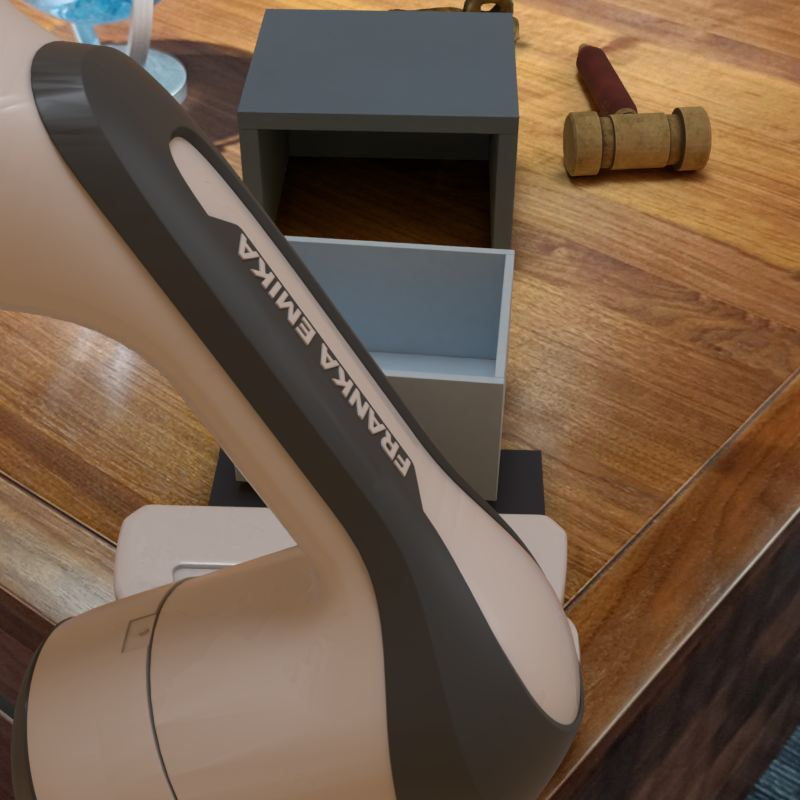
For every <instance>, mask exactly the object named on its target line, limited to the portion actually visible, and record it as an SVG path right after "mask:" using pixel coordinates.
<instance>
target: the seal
mask: <svg viewBox="0 0 800 800" xmlns="http://www.w3.org/2000/svg"><path fill="white" fill-rule="evenodd" d="M487 4H488V5H489V4H494V5H493V6H492V7H491V8H490V9H489V10H482V6H483V5H487ZM514 7H515V6H514V1H513V0H465V1H464V3H463V6H462V8H460V7H455V6H437V7H431V8H419V9H403V8H402V9H401V8H394V9H393V8H392V9H388V10H386V11H432V12H491V13H513V14H514V12H515V11H514ZM513 27H514V42H516V40H517V39H518V38H519V35H520V22H519V19H518V18H517V17H515V16H513Z"/></svg>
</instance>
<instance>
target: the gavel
mask: <svg viewBox="0 0 800 800" xmlns="http://www.w3.org/2000/svg"><path fill="white" fill-rule="evenodd" d="M575 66H576V70H577V71H578V74H579V75H580V77H581V79H582V80H583V83H584V85H585V86H586V88H587V90H588V92H589V94H590V95H591V97H592V100H593V101H594V103H595V105H596V107H597V108H598V111H599V113H600V114H601V117H599V114H598V112H597V111H596V110H592V111H591V110H588V111H587V110H586V111H570V112H568V113H567V115H566V117H565V119H564V123H563V131H562V154H563V161H564V165H565V168H566V171H567V173H568V174H569V176H571V177H578V176H579V177H581V176H596V175H598V173H599V171H600V169H608V170H609V171H614V170H615V171H616V170H617V171H618V170H637V169H657V168H665V167H666V166H671V165H672V168H673V169H674V170H675V171H676V172H683V171H685V172H686V171H702V170H704V169H705V167H706V166H707V164H708V162H709V160H710V156H711V151H712V137H713V136H712V126H711V125H712V124H711V120H710V117H709V114H708V113H707V110H706V109H705V108H704V107H703V106H701V105H699V106H678V107H675V108H673V110H672V112H671V113H669V114H666V113H665V112H662V111H661V112H645V113H643V112H641V113H639V112H638V107H637V105H636V103H635V102H634V100H633V99H632V97H631V94H630V93H629V92H628V90H627V88H626V87H625V85H624V83H623V81H622V79H621V78H620V77H619V75H618V73H617V71H616V70H615V68H614V66H613V65H612V63H611V61H610V60H609V58H608V57H607V54H606V52H604V50H603V49H601V48H600V47H598V46H593V45H592V44H588V43H584V42H583V43H581V44H580V45H579V46H578V50H577V57H576V60H575Z"/></svg>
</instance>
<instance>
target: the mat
mask: <svg viewBox="0 0 800 800" xmlns="http://www.w3.org/2000/svg"><path fill="white" fill-rule="evenodd" d="M543 472H544V471H543V459H542V450H539V449H504V448H501V451H500V463H499V476H498V488H497V500H496V501H490V500H485V501H486V502H487V503H488V504H489V505H490V506H491V507H492V508H493V509H494V510H495V511H496V512H497V513H498V514H525V515H545V516H546V505H545V490H544V489H545V488H544V474H543ZM207 504H208V505H207V506H221V507H259V508H268V507H267V505H266V504H265V503H264V502H263V500H262V499H261V498H260V497H259V495H258V494H257V493H256V491H255V490H254V489H253V488H252V486H251V485H250V484H249V483H248V482H245V481H236V473H235V465H234V464H233V462H232V461H231V460H230V458H229V457H228V456H227V455H226V453H225V452H224V451H223V450H222V448H221V447H219V452H218V457H217V462H216V467H215V472H214V476H213V481H212V486H211V491H210V495H209V499H208V503H207Z"/></svg>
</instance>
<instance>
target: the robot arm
mask: <svg viewBox="0 0 800 800" xmlns="http://www.w3.org/2000/svg"><path fill="white" fill-rule="evenodd" d="M284 236H285V235H284V234H283V233H282V232H281V230H280V228H278V226H277V225H276V222H275V223H274V222H273V221H272V219H271V218H270V217H269V215H268V214H267V213H266V211H265V210H264V209H263V207H262V206H261V205H260V203H259V202H258V201H257V199H256V198H255V197H254V195H253V194H252V193H251V191H250V190H249V189H248V187H247V186H246V185H245V183H244V182H243V179H242V178H241V177H240V176H239V174H238V173H237V172H236V170H235V169H234V167H233V166H232V165H231V164H230V163H229V161H228V160H227V159H226V158H225V156H224V155H223V153H222V152H221V150H219V149H218V147H217V146H216V145H215V143H214V142H213V141H212V140H211V139H210V137H209V136H208V134H206V132H205V131H204V130H203V128H201V126H200V125H199V124H198V123H197V121H195V119H193V117H192V116H191V115H190V114H189V113H188V111H187V110H186V109H185V108H184V107H183V106H182V104H180V102H178V101H177V99H176V98H175V97H174V96H173V95H172V94H171V93H170V91H169V90H168V89H166V87H165V86H164V85H162V84H161V82H159V81H158V80H157V79H156V78H155V77H154V76H153V75H152V74H151V73H150V72H149V71H148V70H146V69H145V67H143V66H142V65H141V64H140V63H138V61H136V60H135V59H134V58H132V57H131V56H130V55H128V54H126V53H125V52H123V51H121V50H119V49H117V48H115V47H112V46H107V45H101V44H93V43H84V42H77V41H68V40H65V39H62V38H61V37H59V36H58V35H56V34H54V33H53V32H51V31H50V30H48V29H47V28H46V27H44V26H42V25H41V24H39V23H38V22H36V21H35V20H34V19H33V18H31V17H30V16H28V15H27V14H26V13H25V12H23V11H22V10H21V9H19V8H18V7H17V6H16V5H15V4H14V3H12V1H10V0H0V311H7V312H15V313H16V312H17V313H23V314H28V315H33V316H40V317H46V318H50V319H55V320H59V321H63V322H67V323H71V324H74V325H77V326H80V327H82V328H85V329H88V330H92V331H95V332H97V333H98V334H101V335H102V336H105V337H107V338H109V339H112V340H113V341H115V342H117V343H119V344H121V345H123V346H124V347H126V348H127V349H128V350H130V351H132V352H134V353H135V354H136V355H138V356H140V357H141V358H142V359H143V360H144V361H146V363H148V364H149V365H150V366H152V367H153V368H155V369H156V370H157V371H158V372H159V374H161V375H162V376H163V377H164V379H166V381H167V382H168V383H169V384H170V385H171V387H172V388H173V389H174V390H175V391H176V392H177V394H178V396H180V398H181V399H182V400H183V401H184V403H185V404H186V405H187V407H188V408H189V409H190V411H191V412H192V413H193V414H194V416H196V418H197V419H198V420H199V422H200V423H201V425H202V426H203V427H204V429H206V431H207V432H208V433H209V434H210V436H211V437H212V438H213V440H214V441H215V442H216V443H217V445H218V446H219V448H222V450H223V451H224V452H225V453H226V455H227V456H228V457H229V458H230V460H231V461H232V462H233V464H234V465H235V466H236V467H237V469H238V470H239V471H240V472H241V474H242V475H243V476H244V477H245V479H246V480H247V481H248V483H249V484H250V485H251V486H252V488H253V489H254V490H255V491H256V493H257V494H258V495H259V497H260V498H261V499H262V500H263V502H264V503H265V504H266V505H267V507H268V508H259V507H221V506H208V505H183V504H182V505H181V504H180V505H179V504H178V505H177V504H153V503H152V504H145V505H143V506H141V507H139V508H138V509H136V510H135V511H133V512H132V513H131V514H128V516H126V517H125V518H124V519H123V521H122V522H121V526H120V528H119V534H118V537H117V543H116V548H115V555H114V562H113V578H112V579H113V582H112V583H113V592H114V599H115V600H113V601H110V602H107V603H104V604H102V605H99V606H96V607H94V608H91V609H89V610H86V611H84V612H81V613H79V614H77V615H73V616H69V617H66V618H64V619H63V620H60V621H58V623H56V624H55V625H54V626H53V627H52V628H51V629H50V630H49V631H48V632H47V634H46V635H45V636H44V638H43V640H41V642H40V644H39V645H38V647H37V648H36V650H35V651H34V654H33V655H32V657H31V659H30V661H29V663H28V665H27V667H26V670H25V672H24V674H23V678H22V681H21V684H20V686H19V690H18V694H17V697H16V701H15V707H14V712H13V719H12V727H11V728H12V729H11V741H10V770H11V771H10V772H11V784H12V791H13V796H14V800H537V799H538V798H539V796H541V795H540V794H542V792H543V791H544V789H545V788H546V787H547V785H548V783H549V782H550V781H551V779H552V778H553V776H554V775H555V773H556V772H557V770H558V769H559V767H560V765H561V764H562V763H563V760H564V759H565V757H566V755H567V754H568V752H569V750H570V748H571V746H572V743H573V742H574V740H575V738H576V736H577V733H578V731H579V729H580V727H581V724H582V722H583V718H584V713H585V690H584V689H585V688H584V680H583V675H582V670H581V668H582V663H583V662H582V661H583V660H582V648H581V637H580V635H579V631H578V629H577V627H576V626H575V624H574V622H573V621H572V620H571V619H570V617H568V616H567V614H566V612H565V610H564V604H565V594H566V582H567V570H568V547H569V546H568V543H569V542H568V534H567V532H566V530H565V529H564V528H563V527H562V526H560V525H559V523H557V522H556V521H555V520H554V519H553V518H551V517H550V516H548V515H546V514H545V515H525V514H498V513H497V512H496V511H495V510H494V509H493V508H492V507H491V506H490V505H489V504H488V503H487V502H486V501H485V500H484V499H483V498H482V497H481V496H480V495H479V494H478V493H477V492H476V491H475V490H474V489H473V488H472V487H471V486H470V485H469V483H468V482H467V481H466V480H465V479H464V478H463V477H462V476H461V475H460V474H459V473H458V472H457V470H456V469H455V468H454V467H453V466H452V465H451V463H450V462H449V461H448V460H447V458H446V457H445V456H444V455H443V453H442V452H441V451H440V449H439V448H438V447H437V445H436V444H435V443H434V441H433V440H432V439H431V437H430V436H429V435H428V433H427V432H426V431H425V429H424V428H423V427H422V425H421V424H420V423H419V421H418V420H417V419H416V417H415V416H414V415H413V413H412V412H411V410H410V409H409V407H408V406H407V405H406V403H405V402H404V400H403V399H402V398H401V396H400V395H399V394H398V392H397V391H396V389H395V388H394V387H393V385H392V384H391V382H390V381H389V380H388V378H387V377H386V376H385V374H384V373H383V371H382V370H381V369H380V367H379V366H378V365H377V363H376V362H375V360H374V359H373V358H372V356H371V355H370V354H369V352H368V351H367V349H366V348H365V347H364V345H363V344H362V342H361V341H360V340H359V338H358V337H357V336H356V334H355V333H354V331H353V330H352V329H351V327H350V326H349V325H348V323H347V322H346V320H345V319H344V318H343V316H342V315H341V314H340V312H339V311H338V309H337V308H336V307H335V305H334V304H333V302H332V301H331V300H330V298H329V297H328V296H327V294H326V293H325V291H324V290H323V289H322V287H321V286H320V285H319V283H318V282H317V280H316V279H315V278H314V276H313V275H312V274H311V272H310V271H309V269H308V268H307V267H306V265H305V264H304V263H303V261H302V260H301V259H300V257H299V256H298V254H297V253H296V252H295V250H294V249H293V248H292V246H291V245H290V244H289V242H288V241H287V239H286V238H285V237H284Z"/></svg>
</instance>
